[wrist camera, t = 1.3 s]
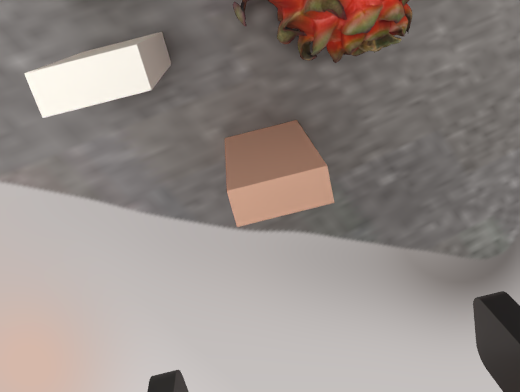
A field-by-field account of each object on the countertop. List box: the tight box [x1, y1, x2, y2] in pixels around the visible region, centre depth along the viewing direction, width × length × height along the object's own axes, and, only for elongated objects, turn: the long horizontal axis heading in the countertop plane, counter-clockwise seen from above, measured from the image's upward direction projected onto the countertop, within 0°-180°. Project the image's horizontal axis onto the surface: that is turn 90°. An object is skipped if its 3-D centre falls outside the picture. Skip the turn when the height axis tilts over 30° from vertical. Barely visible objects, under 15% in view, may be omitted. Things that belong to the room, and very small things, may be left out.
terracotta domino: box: [225, 120, 334, 227], centre depth 29 cm, size 2×5×10 cm, turn 103°
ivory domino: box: [24, 32, 171, 118], centre depth 26 cm, size 2×5×10 cm, turn 103°
